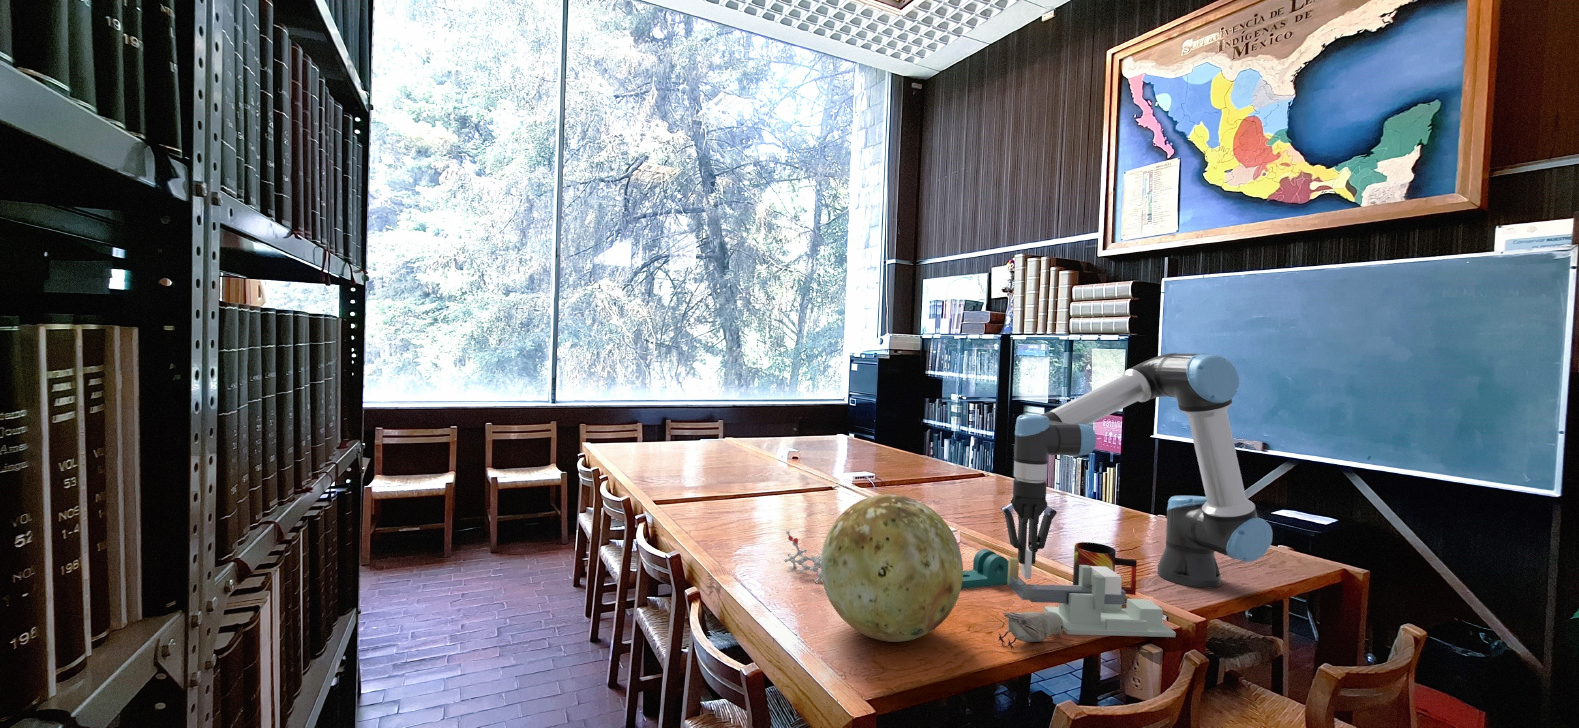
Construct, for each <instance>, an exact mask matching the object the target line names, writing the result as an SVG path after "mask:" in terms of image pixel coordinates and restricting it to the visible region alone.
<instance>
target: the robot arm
mask: <svg viewBox="0 0 1579 728" xmlns="http://www.w3.org/2000/svg"><path fill="white" fill-rule="evenodd" d="M1239 387H1240V378H1239V373H1238V371H1237V368H1236V367H1235V366H1234V363H1232V361H1230V360H1228V359H1227V358H1225V357H1223V356H1221V355H1217V354H1210V353H1203V352H1202V353H1177V352H1176V353H1175V352H1173V353H1165V354H1161V355H1158V356H1155V357H1152V358H1150V359H1148V360H1145V361H1143V362H1141V363H1139V364H1136V365H1135V366H1133V367H1130V368H1128V369H1126V370H1125V371H1124V372H1123V373H1122V376H1120V377H1118V378H1116V379H1114V380H1112V381H1110V382H1108V383H1106V384H1104V385H1102V386H1099V387H1097V388H1095V389H1093V390H1091V391H1089V392H1087V393H1085V394H1083V395H1080V396H1079V397H1076V398H1074V399H1072V400H1070V401H1068V402H1066V403H1064V404H1061V405H1060V406H1058V407H1056V408H1053V409H1051V410H1050V411H1047V412H1045V413H1043V414H1020V415H1019V416H1017V418H1016V423H1015V431H1014V461H1013V462H1014V463H1013V477H1014V479H1013V480H1012V481H1013V483H1012V498H1011V500H1010V504H1009V503H1008V504H1007V505H1006V506H1001V507H1000V510H1001V512H1002V514H1003V516H1004V519H1005V523H1006V528H1007V533H1008V534H1007V535H1008V538H1009V543H1010V545H1011V546H1012V547H1013V548H1015V549H1017V558H1018V559H1019V565H1020V575H1021V576H1022V578H1024V579H1025V580H1032V565H1035V564H1036V560H1037V559H1036V557H1037V556H1036V555H1037V554H1036V553H1037V552H1039V550H1040V549H1041V550H1043V549H1044V548H1045V546H1046V542H1047V539H1048V536H1049V533H1050V529H1051V525H1052V522H1053V519H1054V518H1055V517H1056V515H1057V514H1058V512H1057V510H1055V509H1054V508H1053V507H1051V506H1049V505H1048V502H1047V499H1046V497H1047V485H1048V484H1047V482H1046V480H1047V479H1048V461H1049V456H1077V457H1079V456H1084V455H1085V456H1086V455H1090V454H1091V453H1093V452H1094V450H1095V449H1096V445H1097V435H1096V432H1095V430H1094V428H1093V427H1092V426H1090V424H1093V423H1095V422H1097V421H1099V420H1100V419H1103V418H1106V417H1107V416H1110V415H1111V414H1114V413H1115V412H1118V411H1121V410H1122V409H1123V408H1124V409H1125V408H1126V407H1128V406H1130V405H1132V404H1135V403H1137V402H1139V403H1145V402H1147V401H1151V400H1152V399H1155V398H1164V397H1165V398H1166V397H1167V398H1176V401H1177V404H1178V409H1179V411H1180V412H1182V413H1183V414H1185V415H1186V416H1187V419H1188V423H1189V427H1190V428H1189V429H1190V432H1191V437H1192V442H1193V445H1194V446H1193V447H1194V451H1195V454H1196V457H1197V462H1198V463H1197V464H1198V466H1199V473H1200V476H1201V477H1200V478H1201V481H1202V486H1203V489H1204V494H1205V496H1200V495H1173V496H1170V498H1169V499H1168V501H1167V503H1168V504H1167V508H1166V528H1165V529H1166V534H1165V535H1166V536H1165V537H1166V538H1165V540H1166V541H1165V549H1164V550H1163V553H1162V555H1161V557H1160V559H1159V562H1158V563H1157V575H1158V576H1159V577H1161V578H1163V579H1165V580H1167V581H1169V582H1172V583H1174V584H1180V585H1184V586H1187V587H1188V586H1189V587H1193V588H1203V589H1208V588H1210V589H1211V588H1217V587H1220V586H1221V582H1222V577H1221V573H1220V568H1219V565H1218V563H1217V559H1216V556H1215V553H1218V554H1221V555H1224V556H1227V557H1229V558H1230V559H1231V560H1232V559H1233V560H1238V561H1241V562H1244V563H1245V562H1246V563H1250V562H1254V561H1257V560H1259V559H1261V558H1262V557H1264V555H1265V554H1267V552H1268V550H1269V548H1270V547H1271V545H1272V543H1273V535H1274V533H1273V528H1272V526H1271V524H1270V523H1269V522H1267V521H1266V520H1265V519H1263V518H1260V517H1259V516H1258V513H1257V510H1256V504H1255V503H1254V502H1252V500H1249V499H1248V498H1247V496H1246V491H1245V488H1244V483H1243V479H1242V478H1243V477H1242V473H1241V470H1240V469H1241V468H1240V465H1239V460H1238V457H1237V456H1238V455H1237V451H1236V447H1235V442H1234V438H1233V437H1234V436H1233V433H1232V428H1231V424H1230V419H1229V415H1228V409H1229V408H1230V407H1231V406H1232V405H1233V400H1232V399H1233V398H1234V397H1235V396H1236V394H1237V392H1238V390H1237V388H1239ZM1014 512H1015V513H1016V514H1017V520H1018V526H1017V527H1018V528H1017V529H1018V530H1017V529H1016V525H1015V519H1014V516H1013V515H1014ZM1042 514H1044V515H1043V516H1042V520H1041V521H1040V516H1041V515H1042ZM1040 522H1041V523H1040ZM1039 523H1040V526H1038V525H1039ZM1038 527H1039V528H1038ZM1027 538H1028V539H1027ZM1027 540H1028V541H1027ZM1027 547H1028V548H1027Z"/></svg>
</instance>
